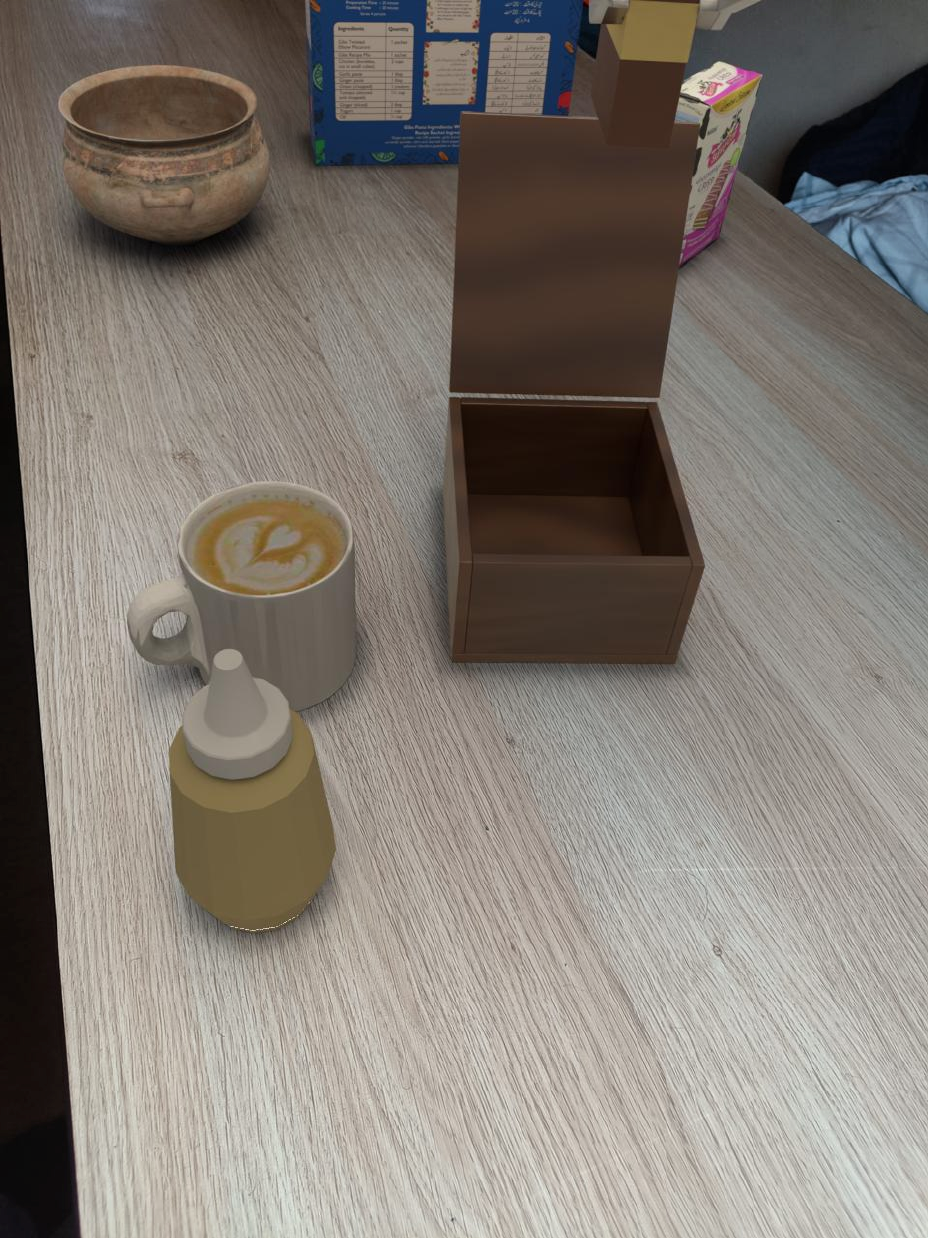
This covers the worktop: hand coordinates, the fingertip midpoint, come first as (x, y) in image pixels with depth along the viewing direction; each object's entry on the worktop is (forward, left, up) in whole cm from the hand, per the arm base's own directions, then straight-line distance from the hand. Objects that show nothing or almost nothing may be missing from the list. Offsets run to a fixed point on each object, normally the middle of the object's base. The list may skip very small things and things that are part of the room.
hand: (653, 10), depth 47 cm
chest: (0, -1, -36) cm, 36 cm away
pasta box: (+6, -71, -36) cm, 80 cm away
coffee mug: (+20, +7, -36) cm, 42 cm away
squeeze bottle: (+18, +23, -36) cm, 46 cm away
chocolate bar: (0, -1, -5) cm, 6 cm away
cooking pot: (+32, -50, -36) cm, 69 cm away
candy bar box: (-18, -49, -36) cm, 64 cm away
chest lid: (0, -12, -18) cm, 22 cm away
